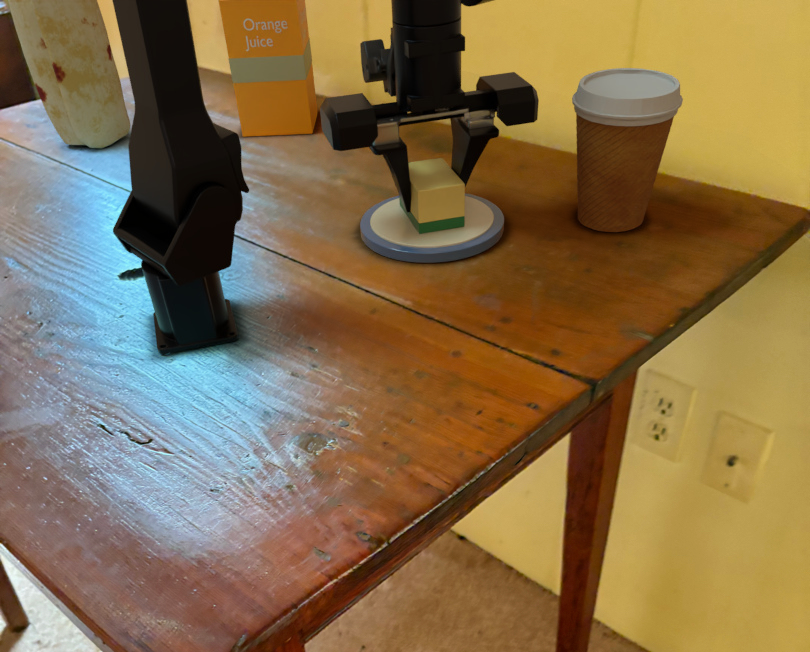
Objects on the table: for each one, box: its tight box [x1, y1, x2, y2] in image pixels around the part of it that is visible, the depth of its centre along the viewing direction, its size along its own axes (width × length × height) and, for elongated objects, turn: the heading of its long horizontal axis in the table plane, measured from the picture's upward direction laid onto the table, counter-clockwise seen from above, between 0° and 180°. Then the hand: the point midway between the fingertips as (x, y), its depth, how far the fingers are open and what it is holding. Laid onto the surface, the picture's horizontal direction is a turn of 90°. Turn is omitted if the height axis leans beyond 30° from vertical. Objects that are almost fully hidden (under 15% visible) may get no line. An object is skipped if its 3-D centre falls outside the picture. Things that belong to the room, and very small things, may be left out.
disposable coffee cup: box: [571, 67, 684, 233], centre depth 74 cm, size 10×10×12 cm
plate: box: [359, 192, 505, 264], centre depth 78 cm, size 14×14×1 cm
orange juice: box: [218, 0, 319, 138], centre depth 95 cm, size 8×9×20 cm
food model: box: [7, 0, 131, 149], centre depth 93 cm, size 10×7×20 cm
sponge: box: [398, 157, 466, 234], centre depth 76 cm, size 7×4×4 cm, turn 16°
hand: (431, 206), depth 77 cm, fingers closed on sponge, 4 cm apart
